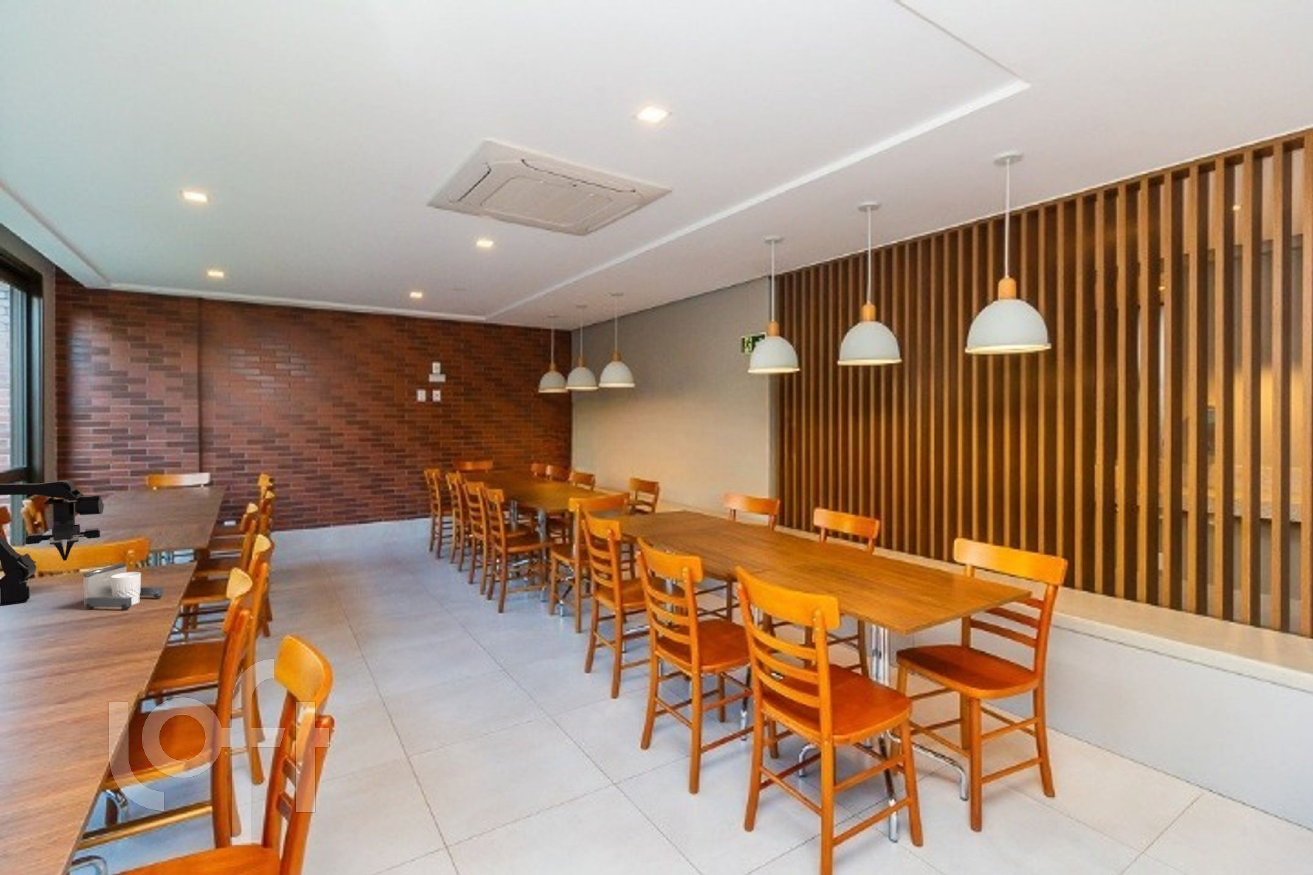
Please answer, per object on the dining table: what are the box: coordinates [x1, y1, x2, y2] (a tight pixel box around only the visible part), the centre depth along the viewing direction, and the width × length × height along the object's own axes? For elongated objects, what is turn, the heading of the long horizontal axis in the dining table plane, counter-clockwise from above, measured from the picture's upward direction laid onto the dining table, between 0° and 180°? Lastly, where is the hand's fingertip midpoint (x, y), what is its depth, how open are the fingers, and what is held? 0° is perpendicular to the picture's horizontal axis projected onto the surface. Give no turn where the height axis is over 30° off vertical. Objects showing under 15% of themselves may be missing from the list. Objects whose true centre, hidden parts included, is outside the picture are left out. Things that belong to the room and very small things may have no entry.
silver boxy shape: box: [83, 562, 164, 611], centre depth 211 cm, size 15×15×12 cm
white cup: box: [111, 571, 142, 606], centre depth 211 cm, size 8×8×10 cm
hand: (65, 560), depth 218 cm, fingers closed
